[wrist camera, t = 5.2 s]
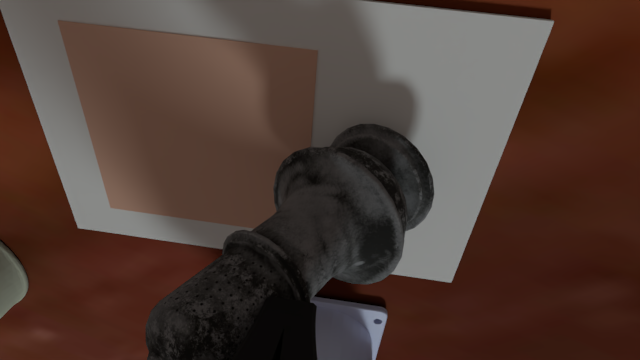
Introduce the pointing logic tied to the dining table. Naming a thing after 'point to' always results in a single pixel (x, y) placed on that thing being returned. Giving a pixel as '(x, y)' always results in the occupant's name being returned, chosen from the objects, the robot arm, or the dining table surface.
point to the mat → (266, 105)
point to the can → (11, 279)
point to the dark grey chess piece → (302, 241)
